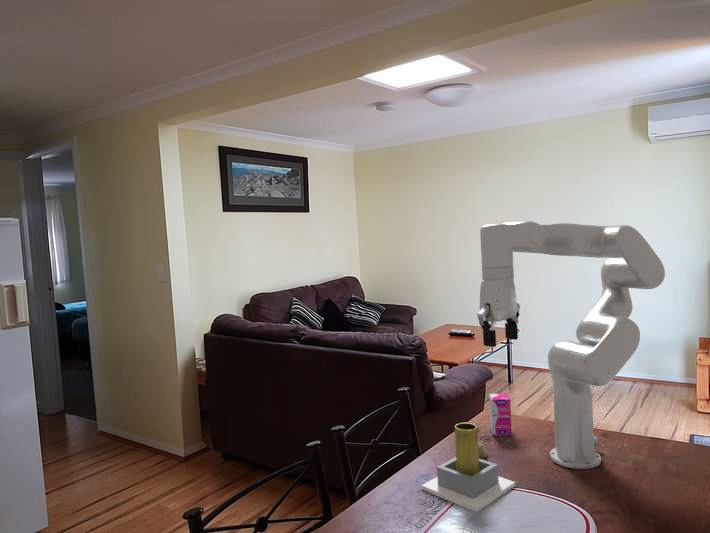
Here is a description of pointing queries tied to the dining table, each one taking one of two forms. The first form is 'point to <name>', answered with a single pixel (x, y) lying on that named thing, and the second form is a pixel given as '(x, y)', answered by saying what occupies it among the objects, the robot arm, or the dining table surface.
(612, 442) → the dining table surface
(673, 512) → the dining table surface
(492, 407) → the supplement box
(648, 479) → the dining table surface
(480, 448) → the chocolate bunny
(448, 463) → the holder
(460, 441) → the vase
